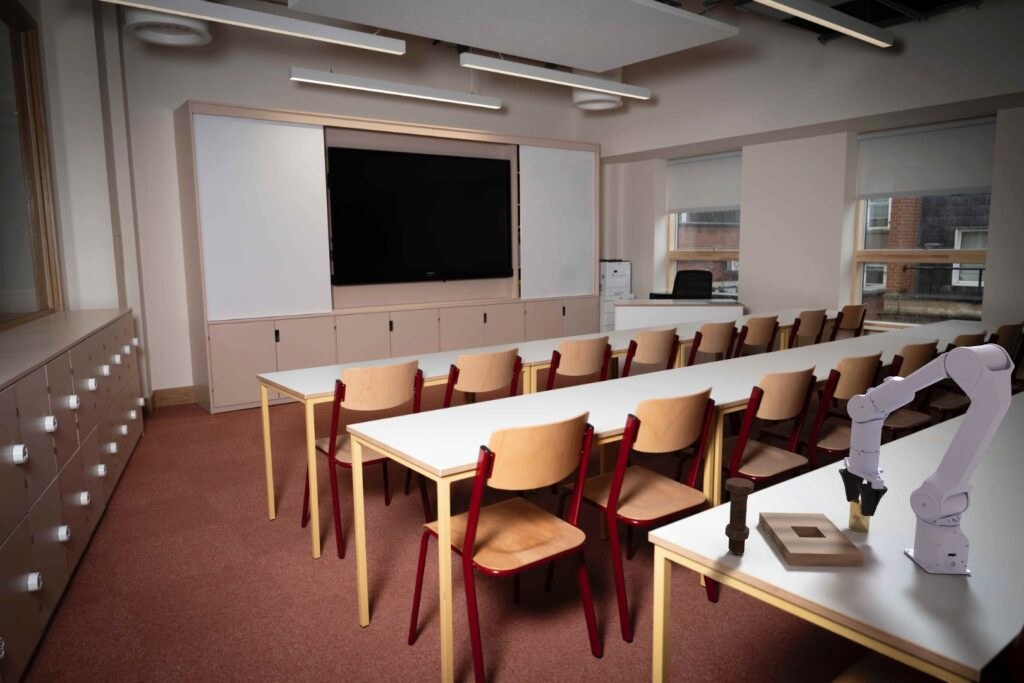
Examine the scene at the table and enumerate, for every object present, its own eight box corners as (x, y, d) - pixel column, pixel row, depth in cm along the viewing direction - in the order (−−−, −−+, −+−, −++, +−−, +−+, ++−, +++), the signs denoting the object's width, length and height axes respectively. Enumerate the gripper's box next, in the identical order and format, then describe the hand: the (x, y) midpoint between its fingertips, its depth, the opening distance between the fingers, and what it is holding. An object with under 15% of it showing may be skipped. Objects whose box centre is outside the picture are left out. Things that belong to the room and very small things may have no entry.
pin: (872, 532, 148) (874, 506, 147) (853, 532, 148) (855, 506, 147) (863, 525, 152) (865, 499, 151) (845, 524, 152) (847, 499, 151)
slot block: (863, 566, 133) (864, 554, 132) (789, 565, 134) (790, 553, 133) (822, 524, 153) (823, 513, 152) (758, 522, 153) (759, 512, 153)
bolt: (745, 546, 142) (749, 477, 139) (755, 557, 137) (758, 486, 134) (718, 547, 141) (721, 477, 139) (726, 558, 136) (729, 486, 134)
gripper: (900, 460, 140) (895, 522, 142) (868, 439, 154) (863, 496, 157) (865, 459, 140) (860, 521, 143) (836, 438, 155) (832, 495, 157)
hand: (859, 508), depth 150 cm, fingers open, 7 cm apart
